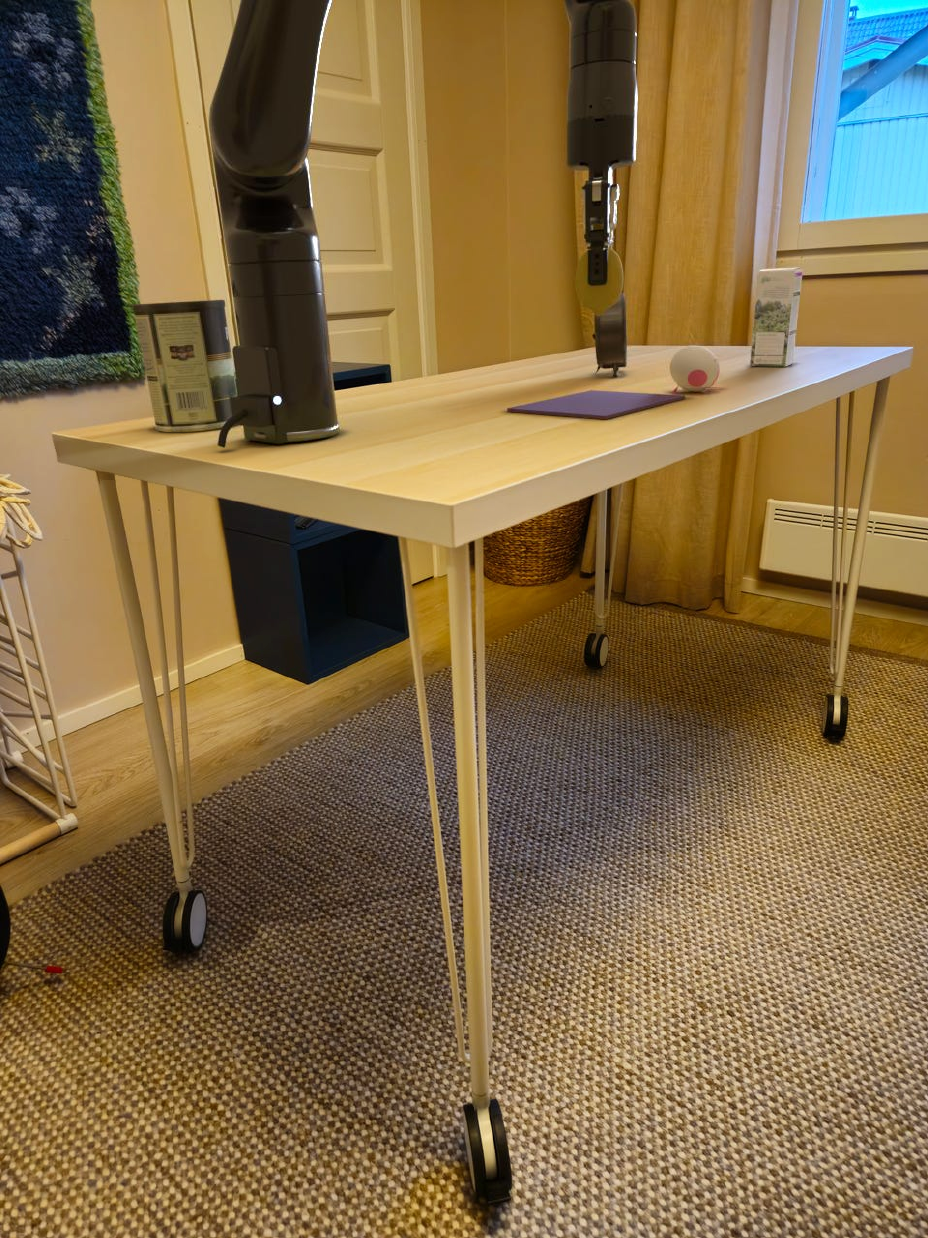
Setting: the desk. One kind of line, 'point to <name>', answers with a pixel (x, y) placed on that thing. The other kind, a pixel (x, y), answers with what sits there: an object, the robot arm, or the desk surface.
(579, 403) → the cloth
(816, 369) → the desk surface
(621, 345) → the alarm clock
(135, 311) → the coffee can
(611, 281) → the lemon
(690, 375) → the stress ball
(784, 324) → the syrup box
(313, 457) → the desk surface
